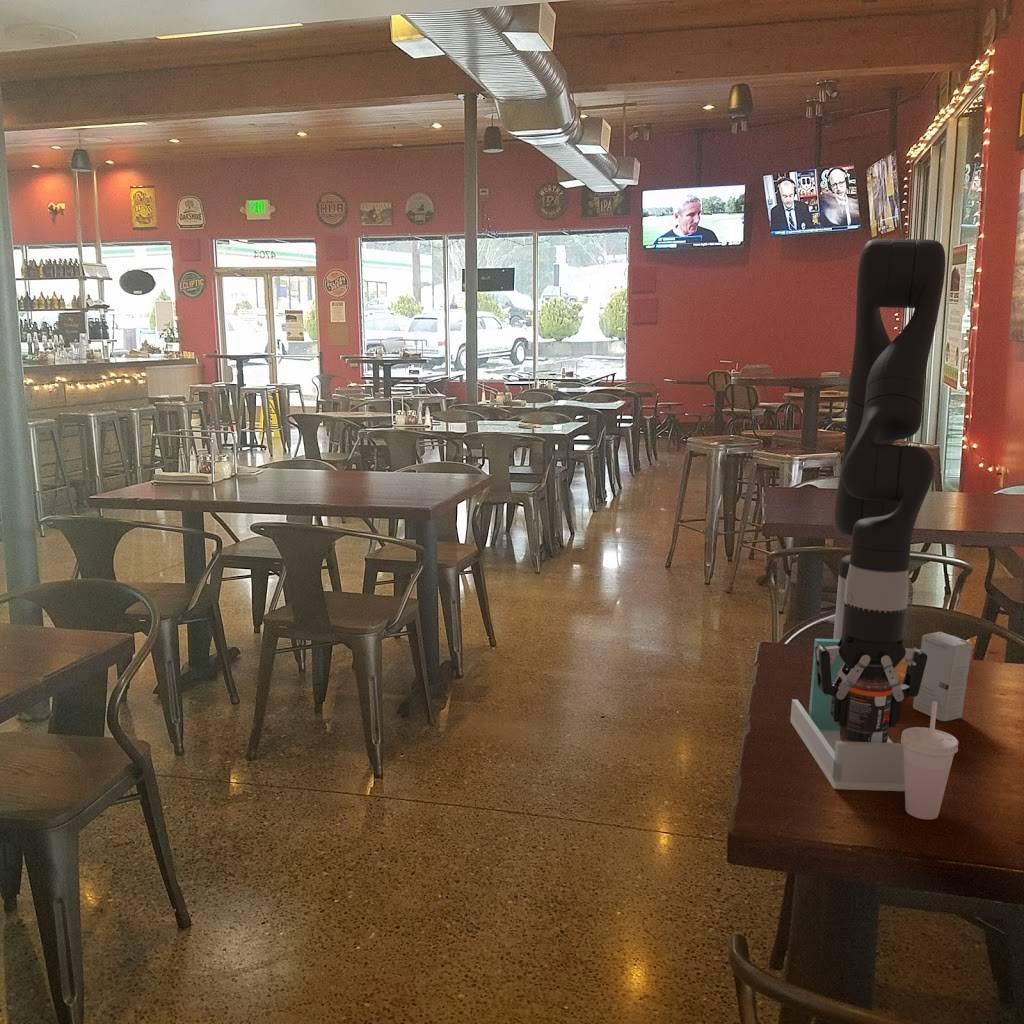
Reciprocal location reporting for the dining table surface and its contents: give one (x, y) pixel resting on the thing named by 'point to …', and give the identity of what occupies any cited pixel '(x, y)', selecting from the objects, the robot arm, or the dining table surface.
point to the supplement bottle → (868, 707)
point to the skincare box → (944, 675)
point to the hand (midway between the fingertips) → (864, 724)
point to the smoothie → (926, 767)
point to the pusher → (818, 699)
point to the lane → (851, 757)
